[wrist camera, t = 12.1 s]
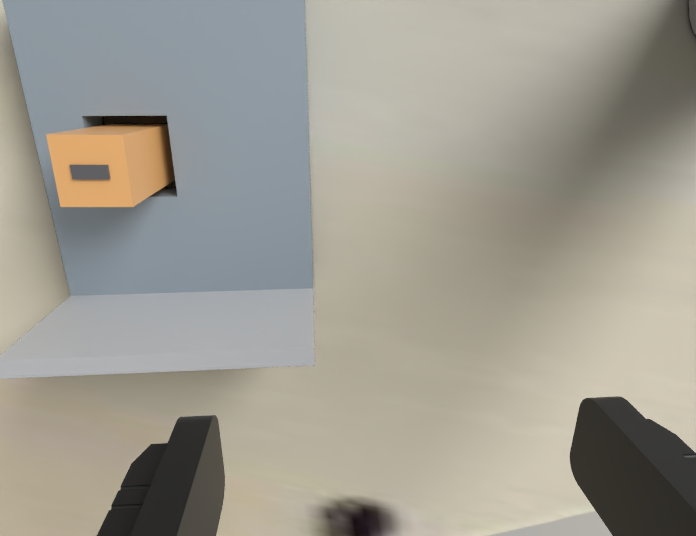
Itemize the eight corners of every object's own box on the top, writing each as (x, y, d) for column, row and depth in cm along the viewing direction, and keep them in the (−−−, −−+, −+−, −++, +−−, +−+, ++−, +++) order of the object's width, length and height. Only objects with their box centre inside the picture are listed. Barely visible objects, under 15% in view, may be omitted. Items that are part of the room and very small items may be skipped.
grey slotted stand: (304, -1, 32) (301, -51, 21) (313, 287, 39) (314, 365, 28) (28, -4, 31) (-136, -59, 19) (91, 294, 38) (-1, 378, 27)
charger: (169, 124, 34) (121, 135, 25) (175, 179, 35) (132, 207, 27) (111, 123, 34) (44, 134, 25) (120, 179, 35) (59, 207, 27)
